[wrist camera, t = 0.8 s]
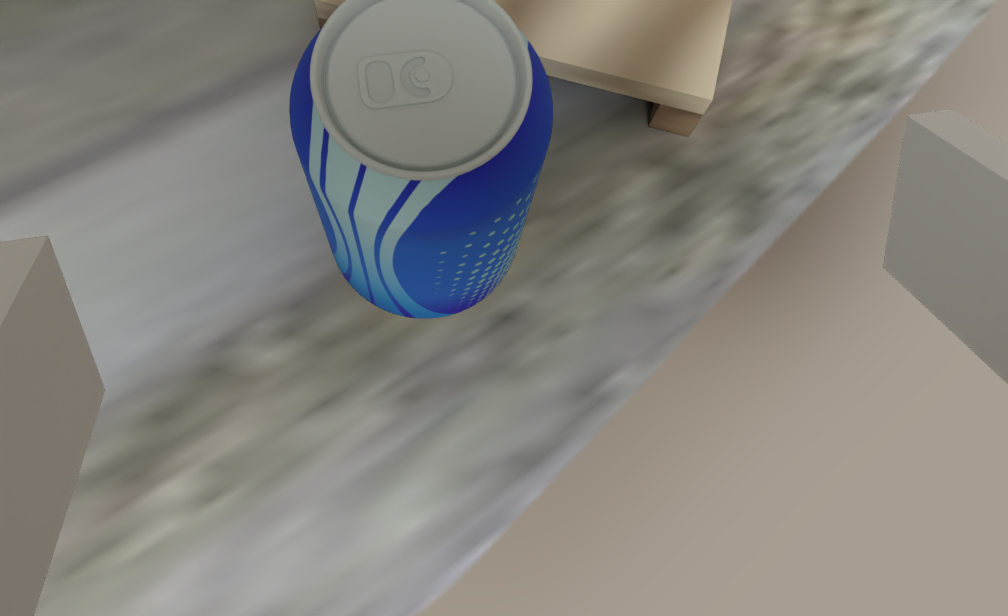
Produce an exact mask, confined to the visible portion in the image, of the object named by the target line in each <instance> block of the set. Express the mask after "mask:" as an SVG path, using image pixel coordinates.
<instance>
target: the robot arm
mask: <svg viewBox="0 0 1008 616" xmlns="http://www.w3.org/2000/svg"><path fill="white" fill-rule="evenodd" d="M883 268H884V269H885V270H886V271H888V272H889V273H890V274H891V275H892V276H893V277H894V278H895V279H896V280H897V281H898V282H899V283H900V284H902V285H903V286H904V287H905V288H906V289H907V290H908V291H909V292H910V293H911V294H912V295H913V296H914V297H915V298H916V299H918V301H920V302H921V303H922V304H923V305H924V306H925V307H926V308H927V309H928V310H929V311H930V312H931V313H932V314H933V315H935V316H936V317H937V318H938V319H939V320H940V321H941V322H942V323H943V324H944V325H945V326H946V327H947V328H948V329H949V330H951V331H952V332H953V333H954V334H955V335H956V336H957V337H958V338H959V339H960V340H961V341H962V342H963V343H964V344H966V345H967V346H968V347H969V348H970V349H971V350H972V351H973V352H974V353H975V354H976V355H977V356H978V357H980V359H981V360H983V361H984V362H985V363H986V364H987V365H988V366H989V367H990V368H991V369H992V370H993V371H994V372H995V373H996V374H998V375H999V376H1000V377H1001V378H1002V379H1003V380H1004V381H1005V382H1006V383H1007V384H1008V142H1007V141H1005V140H1003V139H1002V138H1000V137H998V136H996V135H995V134H993V133H991V132H990V131H988V130H986V129H984V128H983V127H981V126H979V125H978V124H976V123H974V122H973V121H971V120H969V119H967V118H966V117H964V116H963V115H961V114H959V113H957V112H956V111H954V110H952V109H950V110H943V111H936V112H929V113H921V114H914V115H907V117H906V123H905V130H904V136H903V142H902V149H901V155H900V161H899V168H898V174H897V181H896V187H895V193H894V200H893V206H892V212H891V219H890V225H889V231H888V238H887V244H886V250H885V257H884V264H883ZM104 392H105V388H104V385H103V383H102V380H101V377H100V374H99V372H98V369H97V366H96V364H95V361H94V358H93V356H92V353H91V350H90V347H89V345H88V342H87V339H86V337H85V334H84V331H83V329H82V326H81V323H80V320H79V318H78V315H77V312H76V310H75V307H74V304H73V302H72V299H71V296H70V293H69V291H68V288H67V285H66V283H65V280H64V277H63V275H62V272H61V269H60V266H59V264H58V261H57V258H56V256H55V253H54V250H53V248H52V245H51V242H50V239H49V237H48V236H42V237H35V238H28V239H21V240H13V241H6V242H0V616H34V613H35V610H36V607H37V603H38V600H39V597H40V594H41V591H42V588H43V584H44V581H45V578H46V575H47V572H48V569H49V566H50V562H51V559H52V556H53V553H54V550H55V547H56V543H57V540H58V537H59V534H60V531H61V528H62V524H63V521H64V518H65V515H66V512H67V509H68V505H69V502H70V499H71V496H72V493H73V490H74V486H75V483H76V480H77V477H78V474H79V471H80V467H81V464H82V461H83V458H84V455H85V452H86V449H87V445H88V442H89V439H90V436H91V433H92V430H93V426H94V423H95V420H96V417H97V414H98V411H99V407H100V404H101V401H102V398H103V395H104Z"/></svg>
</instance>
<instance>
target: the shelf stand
mask: <svg viewBox="0 0 1008 616" xmlns="http://www.w3.org/2000/svg"><path fill="white" fill-rule="evenodd" d="M344 1H345V0H314V2H315V6H316V11H317V16H318V20H319V25H320V29H322V28H323V26H324V24H325V23H326V21H327V20H328V18H329V17H330V16H331V15H332V13H333V12H334V11H335V10H336V9H337V8H338V7H339V6H340V5H341V4H342V3H343V2H344ZM494 1H495V2H496V3H497V4H498V5H500V6H501V7H502V8H503V9H504V10H505V12H506V13H507V14H508V15H509V16H510V17H511V19H512V20H513V21H514V23H515V24H516V26H517V27H518V29H519V30H520V31H521V32H522V33H523V34H524V35H525V37H526V38H527V39H528V41H529V42H530V43H531V45H532V46H533V48H534V50H535V51H536V53H537V55H538V56H539V58H540V60H541V62H542V65H543V67H544V69H545V72H546V75H548V76H552V77H556V78H560V79H564V80H568V81H572V82H576V83H579V84H583V85H587V86H591V87H595V88H599V89H603V90H607V91H611V92H615V93H619V94H623V95H627V96H631V97H635V98H639V99H643V100H647V101H651V102H654V103H653V107H652V112H651V117H650V121H649V126H648V127H652V128H656V129H660V130H664V131H668V132H671V133H675V134H679V135H683V136H687V137H689V135H690V134H691V132H692V131H693V129H694V128H695V126H696V125H697V123H698V122H699V120H700V119H701V117H702V116H703V114H704V113H705V111H706V110H707V108H708V107H709V105H710V104H711V102H712V101H713V96H714V91H715V86H716V81H717V76H718V71H719V66H720V61H721V56H722V51H723V46H724V40H725V35H726V30H727V25H728V20H729V15H730V10H731V5H732V0H494Z"/></svg>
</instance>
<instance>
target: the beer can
mask: <svg viewBox="0 0 1008 616" xmlns="http://www.w3.org/2000/svg"><path fill="white" fill-rule="evenodd" d="M552 123H553V102H552V94H551V89H550V85H549V81H548V77H547V75H546V72H545V69H544V67H543V65H542V62H541V60H540V58H539V56H538V55H537V53H536V51H535V50H534V48H533V46H532V45H531V43H530V42H529V41H528V39H527V38H526V37H525V35H524V34H523V33H522V32H521V31H520V30H519V29H518V27H517V26H516V24H515V23H514V21H513V20H512V19H511V17H510V16H509V15H508V14H507V13H506V12H505V10H504V9H503V8H502V7H501V6H500V5H498V4H497V3H496V2H495V1H494V0H345V1H344V2H343V3H342V4H341V5H340V6H339V7H338V8H337V9H336V10H335V11H334V12H333V13H332V15H331V16H330V17H329V18H328V20H327V21H326V23H325V24H324V26H323V28H322V29H321V30H320V31H319V32H318V33H317V34H316V36H315V37H314V38H313V40H312V41H311V42H310V44H309V46H308V47H307V49H306V50H305V52H304V54H303V56H302V58H301V60H300V62H299V64H298V67H297V70H296V72H295V75H294V79H293V83H292V87H291V94H290V124H291V130H292V136H293V140H294V143H295V146H296V150H297V153H298V155H299V158H300V161H301V164H302V167H303V170H304V173H305V175H306V178H307V181H308V184H309V187H310V190H311V192H312V195H313V198H314V201H315V204H316V207H317V210H318V212H319V215H320V218H321V221H322V224H323V227H324V230H325V232H326V235H327V238H328V241H329V244H330V247H331V249H332V252H333V255H334V258H335V260H336V263H337V265H338V267H339V269H340V271H341V272H342V274H343V276H344V277H345V279H346V280H347V281H348V283H349V284H350V285H351V286H352V287H353V288H354V289H355V290H356V291H357V292H358V293H359V294H360V295H361V296H362V297H364V298H365V299H366V300H367V301H369V302H371V303H372V304H374V305H375V306H377V307H379V308H381V309H383V310H385V311H388V312H390V313H393V314H397V315H400V316H404V317H410V318H420V319H430V318H439V317H444V316H449V315H452V314H456V313H459V312H461V311H463V310H466V309H468V308H470V307H472V306H474V305H475V304H477V303H478V302H480V301H481V300H483V299H484V298H485V297H486V296H488V295H489V294H490V293H491V292H492V291H493V290H494V289H495V288H496V287H497V286H498V284H499V283H500V282H501V281H502V279H503V278H504V276H505V275H506V273H507V271H508V269H509V268H510V266H511V263H512V261H513V258H514V256H515V252H516V249H517V246H518V243H519V240H520V236H521V233H522V230H523V227H524V223H525V220H526V217H527V214H528V210H529V207H530V204H531V201H532V198H533V194H534V191H535V188H536V185H537V181H538V178H539V175H540V172H541V169H542V165H543V162H544V159H545V156H546V152H547V149H548V146H549V142H550V138H551V132H552Z"/></svg>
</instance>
